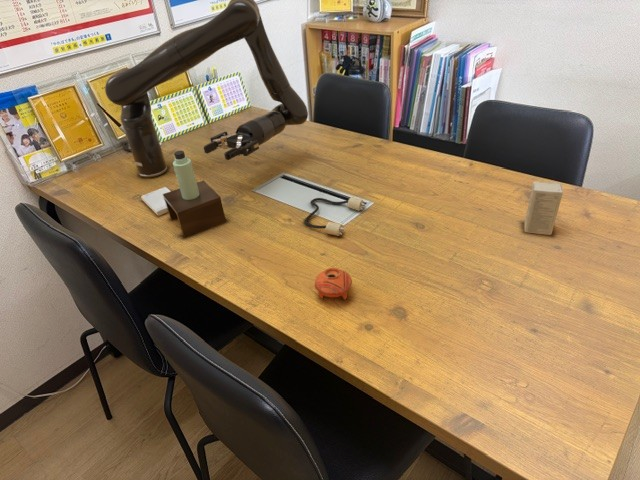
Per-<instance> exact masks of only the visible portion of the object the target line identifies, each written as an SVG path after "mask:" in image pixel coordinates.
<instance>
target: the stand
mask: <svg viewBox="0 0 640 480" xmlns="http://www.w3.org/2000/svg"><path fill="white" fill-rule="evenodd" d="M196 182H197V186H198V189H199V193H200V194H199V196H198V197H197V198H195V199H191V200H185V199H183V198H182V194H181V191H180V188H177V189H174V190H170V191H171V192H168V193H165V194H163V197H164V200H165V203H166V206H167V209H168V212H167V213H168V216H169V219H170V220H171V221H173V220H176V219H177V220H178V223H179V227H180V230H181V233H182V236H183V238H189V237H190V236H194V235H196V234H199V233H200V232H203V231H206V230H208V229H211V228H213V227H216V226H219V225H221V224H224V223H226V222H227V220H226V215H225V211H224V206H223V203H222V198H221V196H220V195H219V194H218V193H217V192H216V190H214V189H213V188H212V187H211V186H210V185H209V184H208V183H207V182H206V181H205V180H200V181H196Z"/></svg>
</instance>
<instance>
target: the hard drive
mask: <svg viewBox="0 0 640 480" xmlns="http://www.w3.org/2000/svg"><path fill="white" fill-rule="evenodd" d="M171 191H172V190H170V189H169V188H168V187H167V186H163V187H161V188H159V189H156V190H153V191H150V192H148V193H146V194H143V195H141V196H140V199H141V201H142V202H144V203H145V205H146V206H147V207H148V208H150V209H151V211H152V212H153V213H154V214H155V215H157V217H159V216H163V215H164V214H167V213H168V209H167V206H166V203H165V200H164V197H163V194H165V193H168V192H171Z"/></svg>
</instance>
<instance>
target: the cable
mask: <svg viewBox="0 0 640 480" xmlns="http://www.w3.org/2000/svg"><path fill="white" fill-rule="evenodd" d="M316 201H321V202H326V203H328V204H331V205H344V204H347V206H348V208H350V209H353V210H356V211H359V212H360V211H363V207H366V204H365V203H364V200H363V199H360V198H358V197H355V196H351V197H349V199H346V200H343V201H334V200H330V199H327V198H323V197H315V198H313V199H311V200H310V205H312V206H313V207H315V209H314V210H313V211H312V212H311V213H309V215H307V216H306V218H305V219H304V224H305V225H306V226H307V227H309V228H313V229H325V233H326V234H329V235H333V236H337V237H339V236H343V232H344V231H345V228H343V226H342V223H337V222H333V221H329V222H327V224H326V225H317V224H312V223H309V220H310V219H311V218H312V217H313V216H314V215H315V214H317V213H318V211H319V210H320V206H319V205H318V204H316V203H315V202H316Z"/></svg>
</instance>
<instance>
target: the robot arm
mask: <svg viewBox="0 0 640 480" xmlns="http://www.w3.org/2000/svg"><path fill="white" fill-rule="evenodd" d="M243 39H244V40H245V42H246V44H247V46H248V48H249V50H250V52H251V54H252V57H253V60H254V62H255V65H256V68H257V71H258V74H259V76H260V78H261V81H262V83H263V85H264V87H265V88H266V90H267V92H268V95H269V96H270V98H271V100H273V101H275V102H278V103H280V104H278V105H276V106H274V107H273V108H272V109H271V110H270V111H269V112H267V113H264V114H263V115H259V116H257V117H254V118H252V119H250V120H248V121H246V122H244V123H242V124H240V125H239V126H238V127H237V129H236V131H235V132H234V133H230V134H228V131H222V132H220V133H218V134H216V135H213V136H211V137H210V138H209V140H210V142H209V143H207V144H205V145H204V146H203V152H204V154H207V155H208V154H210V153H212V152H214V151H216V150H218V149H223V150H227V149H228V150H227V151H225V152H224V153H223V155H224V159H225V160H226V161H230V160H232V159H234V158H235V157H240V156H243V157H248V156H250V155H251V154H253V153H255V152H256V151H258V150H259V149H260V146H261V145H263V144H264V143H266V142H268V141H270V140H271V139H272V138H274V137H275V136H277V135H280V134H281V133H282V132H283V131H284V130H286V126H287V127H288V126H300V125H304V124H305V123H306V122H307V121H308V118H309V117H308V116H309V111H308V107H307V105H306V103H305V102H304V100H303V99H302V98H301V96H300V95H299V94H298V93H297V92H296V91H295V89H294V88H293V87H292V86H291V83H290V81H289V79H288V78H287V75H286V73H285V71H284V68H283V66H282V65H281V63H280V61H279V58H278V56H277V54H276V53H275V51H274V48H273V46H272V44H271V42H270V39H269V37H268V34H267V31H266V29H265V26H264V23H263V19H262V15H261V12H260V8H259V6H258V4H257V2H256V1H255V0H230V1H229V2H228V4H227V6H226V7H225V8H224V9H223V10H222V11H221V12H220V13H219V14H217V15H215V17H213V18H212V19H210V20H209V21H207V22H206V23H204V24H202V25H199V26H196V27H193V28H189V29H186V30H184V31H182V32H180V33H178V34H176V35H174V36H172V37H171V38H169V39H168V40H166V41H165V42H163V43H162V44H160V45H159V46H158V47H156V48H155V49H154V50H152V52H150V53H149V54H148V55H147V56H146V57H145V58H143V59H142V60H141V61H140V62H139V63H137V64H135V65H134V66H132V67H123V68H120V69H118V70H117V71H116V72H114V73H113V74H111V75H110V76H109V77H108V78H107V80H106V82H105V86H104V87H105V88H104V92H105V96H106V97H107V99H108V101H110V102H111V103H112V104H114V105H117V106H120V107H121V108H120V109H121V111H120V117H119V119H120V123H121V126H122V128H123V131H124V134H125V137H126V139H127V143H128V145H129V148H127V147H126V145H127V143H126V142H125V141H123V142H122V148H123V150H125V151H127V152H131V154H132V157H133V161H134V165H135V166H136V169H137V173H138V175H139V177H141V178H145V179H149V178H155V177H159V176H161V175H163V174H165V173H166V172H167V171H168V165H167V163H166V158H165V156H164V153H163V149H162V146H161V143H160V140H159V137H158V133H157V130H156V126H155V124H154V120H153V116H152V106H151V102H150V97H149V94H148V92H149V91H151V90H152V89H154V88H156V87H158V86H159V85H161V84H162V85H163V84H164V83H166V82H168V81H171V80H172V79H175V78H177V77H178V76H181V75H182V74H184V73H186V72H188V71H189V70H191V69H193V68H194V67H196V66H198V65H199V64H201V63H202V62H204V61H205V60H207V59H208V58H210V57H211V56H213V55H214V54H215V53H217V52H218V51H219V50H221V49H223V48H225V47H227V46H229V45H232V44H234V43H236V42H239V41H241V40H243Z"/></svg>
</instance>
